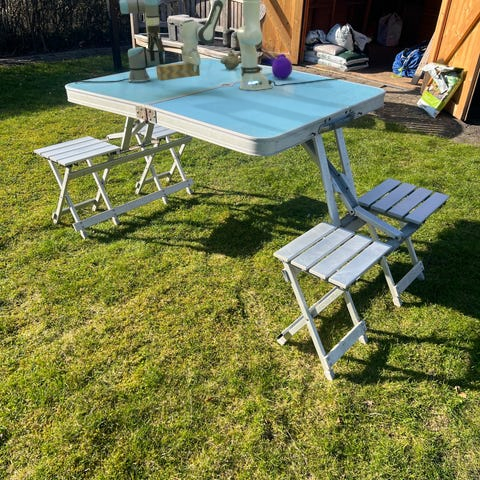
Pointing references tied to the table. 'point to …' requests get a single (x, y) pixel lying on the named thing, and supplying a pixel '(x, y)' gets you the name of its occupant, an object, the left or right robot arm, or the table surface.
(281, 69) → the toy
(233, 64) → the teapot
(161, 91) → the table surface
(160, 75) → the bar
